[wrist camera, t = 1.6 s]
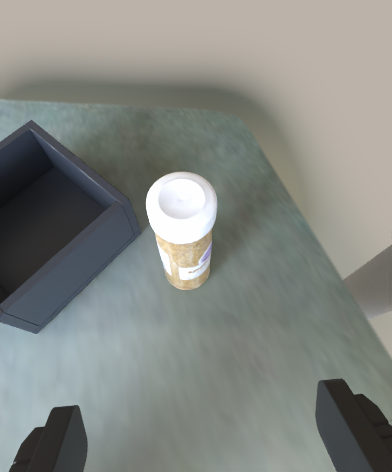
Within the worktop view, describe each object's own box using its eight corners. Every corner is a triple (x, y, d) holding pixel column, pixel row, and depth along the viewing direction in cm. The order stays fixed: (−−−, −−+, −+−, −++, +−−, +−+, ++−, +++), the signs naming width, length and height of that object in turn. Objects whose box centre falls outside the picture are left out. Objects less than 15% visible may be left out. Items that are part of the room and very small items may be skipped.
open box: (57, 162, 38) (31, 119, 32) (141, 232, 35) (129, 199, 28) (-47, 244, 34) (-100, 212, 28) (36, 334, 30) (-5, 320, 24)
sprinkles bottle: (204, 295, 32) (209, 238, 20) (158, 285, 32) (135, 223, 20) (214, 252, 34) (224, 175, 21) (170, 243, 34) (155, 162, 22)
